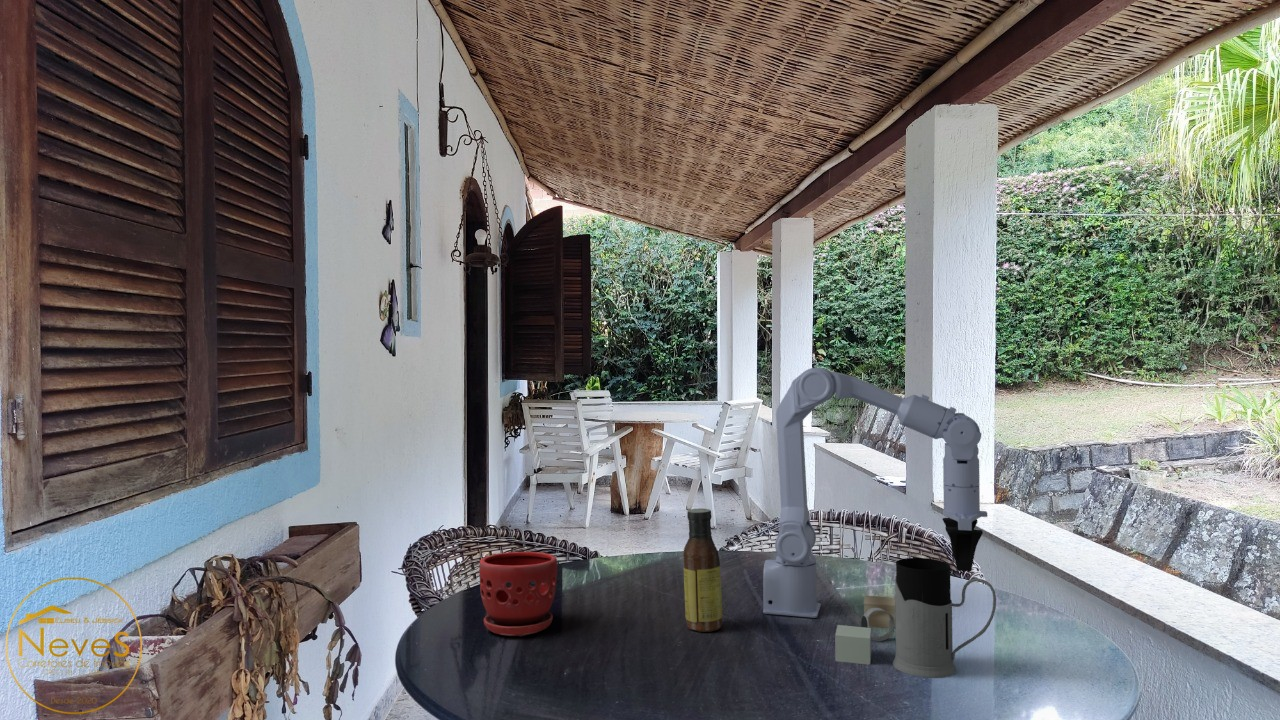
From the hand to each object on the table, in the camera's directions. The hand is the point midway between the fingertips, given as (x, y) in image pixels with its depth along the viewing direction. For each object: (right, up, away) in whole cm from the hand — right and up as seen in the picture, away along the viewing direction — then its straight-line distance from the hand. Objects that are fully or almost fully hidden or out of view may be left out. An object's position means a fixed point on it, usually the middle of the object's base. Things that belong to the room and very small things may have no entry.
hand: (962, 565), depth 136 cm
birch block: (-14, -10, +1) cm, 17 cm away
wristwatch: (-16, -10, -7) cm, 21 cm away
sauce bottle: (-44, -11, -1) cm, 45 cm away
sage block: (-23, -10, -15) cm, 29 cm away
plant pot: (-76, -11, 0) cm, 76 cm away
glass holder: (-11, -10, -20) cm, 25 cm away
